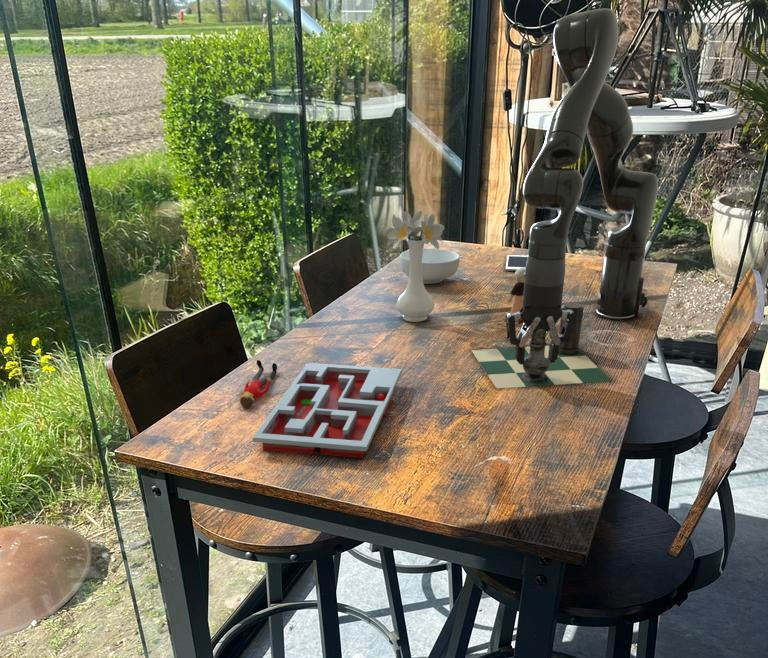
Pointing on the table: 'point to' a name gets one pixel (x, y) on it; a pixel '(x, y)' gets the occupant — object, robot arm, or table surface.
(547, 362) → the grey tall turned piece
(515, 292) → the grandmother figurine
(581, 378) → the chess mat
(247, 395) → the person figure
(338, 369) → the maze game
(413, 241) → the flower vase
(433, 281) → the cereal bowl
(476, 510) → the table surface
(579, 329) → the dark grey cylinder
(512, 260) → the cell phone
